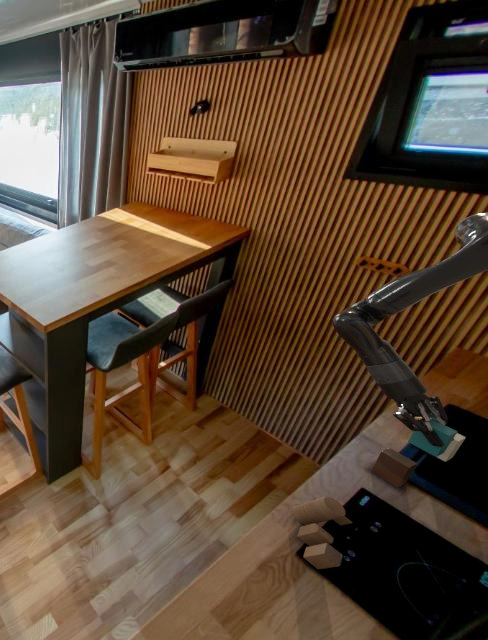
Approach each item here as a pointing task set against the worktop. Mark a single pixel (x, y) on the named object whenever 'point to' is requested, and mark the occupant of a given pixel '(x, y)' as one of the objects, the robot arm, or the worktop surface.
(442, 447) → the tile
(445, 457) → the tile
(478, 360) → the worktop surface
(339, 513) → the wooden block set
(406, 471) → the brown rectangular block
